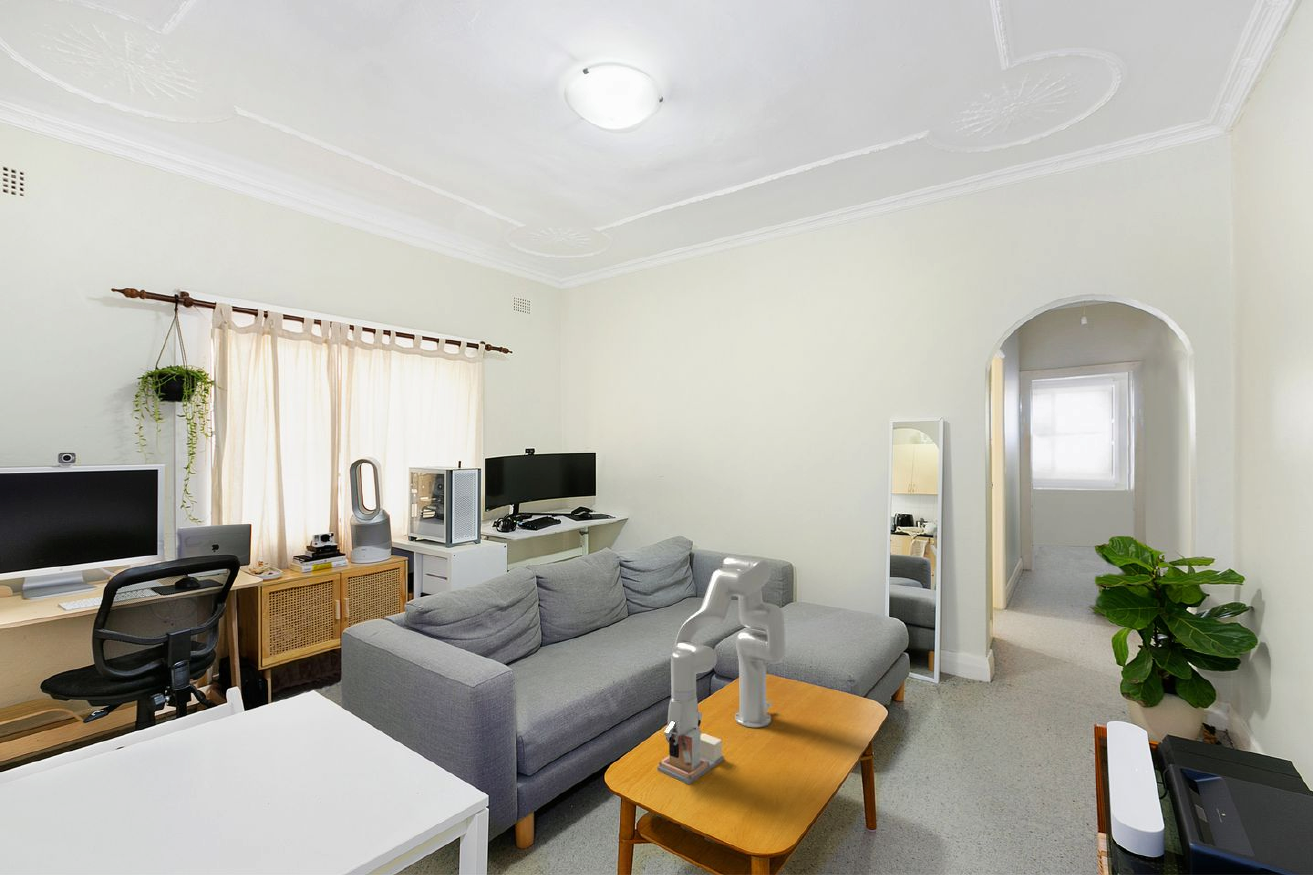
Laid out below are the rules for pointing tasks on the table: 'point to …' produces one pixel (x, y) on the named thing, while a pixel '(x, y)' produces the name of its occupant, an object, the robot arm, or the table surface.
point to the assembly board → (708, 760)
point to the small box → (687, 751)
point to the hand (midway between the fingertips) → (684, 749)
